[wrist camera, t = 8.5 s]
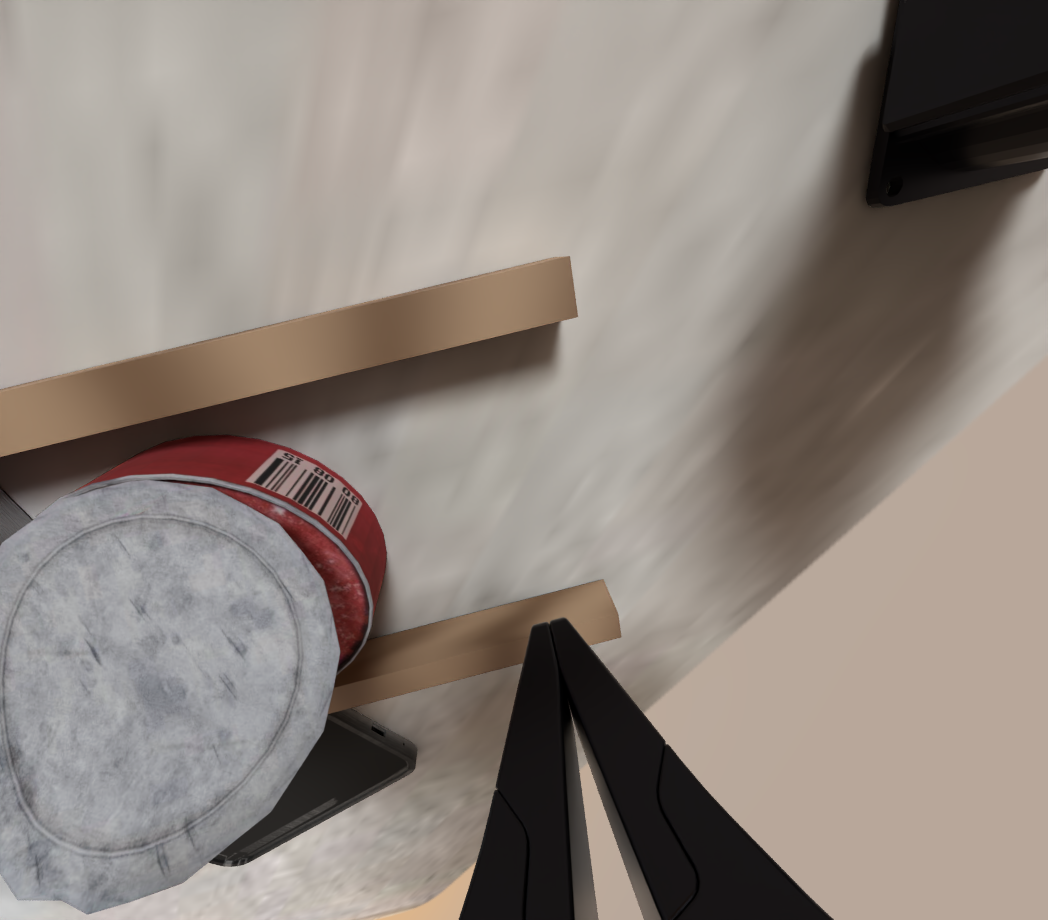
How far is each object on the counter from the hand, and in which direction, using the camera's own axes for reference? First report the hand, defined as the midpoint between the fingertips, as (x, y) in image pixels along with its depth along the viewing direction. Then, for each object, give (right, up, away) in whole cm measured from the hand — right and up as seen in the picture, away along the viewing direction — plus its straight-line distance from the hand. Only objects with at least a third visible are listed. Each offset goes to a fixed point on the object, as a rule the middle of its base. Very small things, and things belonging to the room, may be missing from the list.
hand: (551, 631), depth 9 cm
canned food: (-11, +1, +6) cm, 13 cm away
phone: (-15, -14, +13) cm, 24 cm away
